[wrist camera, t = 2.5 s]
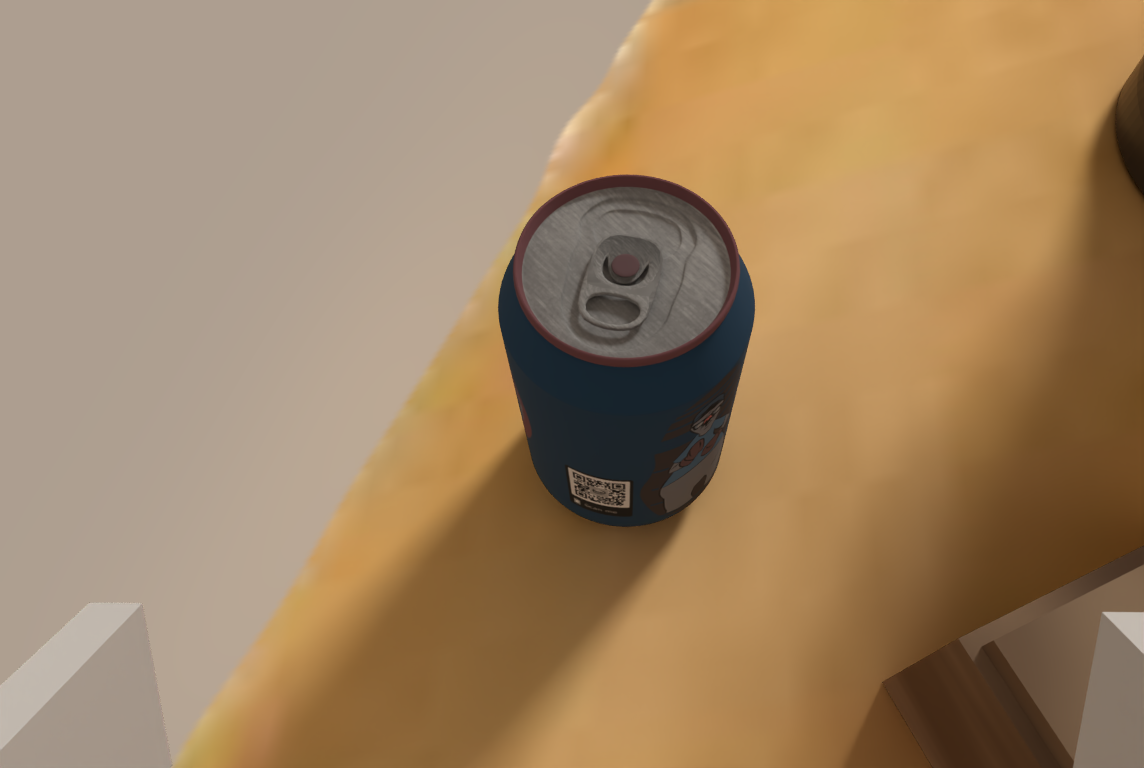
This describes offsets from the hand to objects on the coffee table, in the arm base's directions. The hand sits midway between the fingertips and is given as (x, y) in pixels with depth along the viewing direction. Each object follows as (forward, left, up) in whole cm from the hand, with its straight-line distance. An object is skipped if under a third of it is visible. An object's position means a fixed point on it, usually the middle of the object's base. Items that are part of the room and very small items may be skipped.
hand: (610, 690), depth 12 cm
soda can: (-5, -10, -18) cm, 21 cm away
